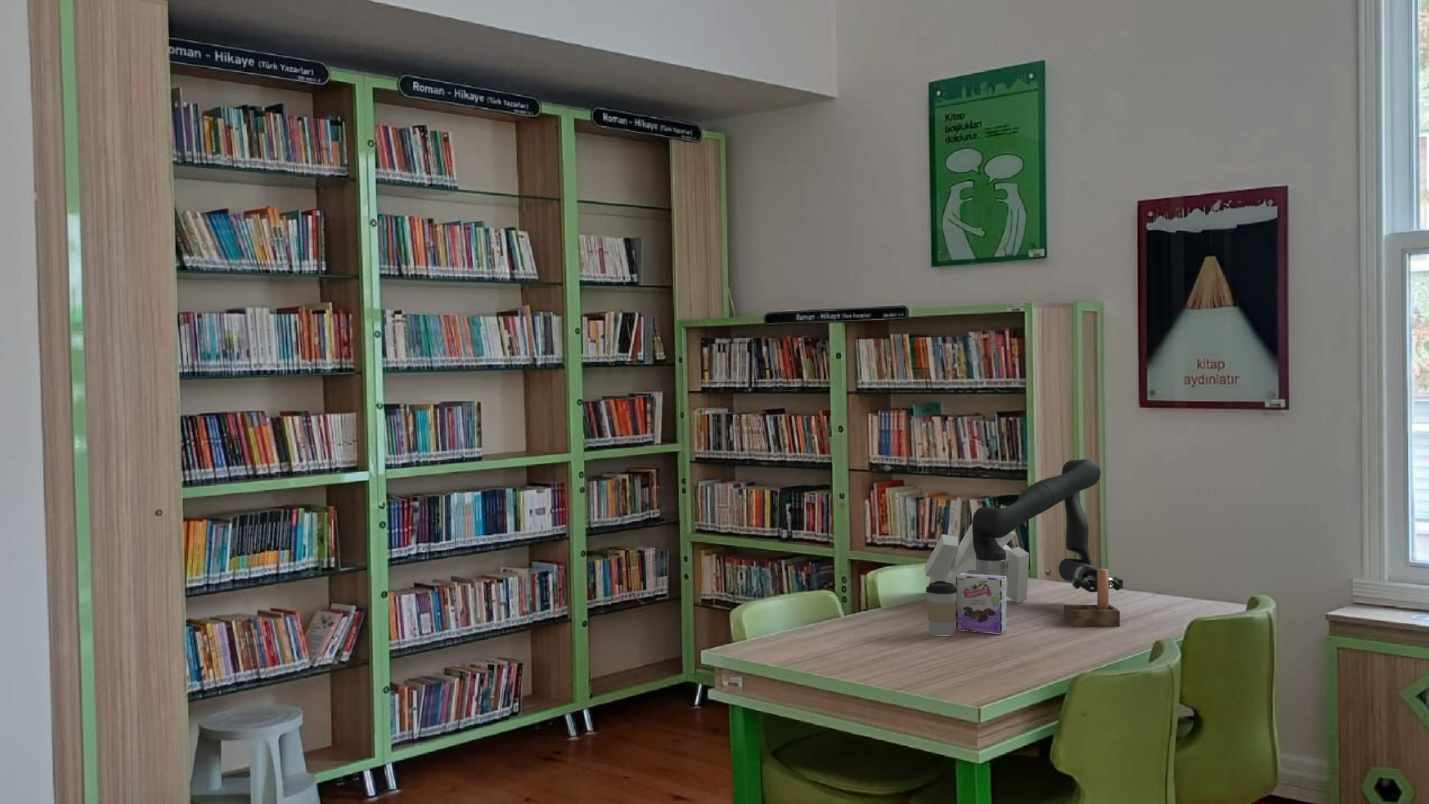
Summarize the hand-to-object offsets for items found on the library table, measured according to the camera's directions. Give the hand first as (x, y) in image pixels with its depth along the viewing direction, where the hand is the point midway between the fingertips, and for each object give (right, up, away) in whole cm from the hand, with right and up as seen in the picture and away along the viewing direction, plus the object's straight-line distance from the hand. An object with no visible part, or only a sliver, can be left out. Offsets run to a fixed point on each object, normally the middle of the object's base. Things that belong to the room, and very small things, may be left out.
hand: (1103, 587), depth 375 cm
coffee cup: (-51, -12, -12) cm, 54 cm away
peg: (0, -11, +1) cm, 11 cm away
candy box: (-39, -12, -9) cm, 41 cm away
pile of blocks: (-30, -11, +39) cm, 51 cm away
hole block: (-3, -11, +1) cm, 12 cm away
